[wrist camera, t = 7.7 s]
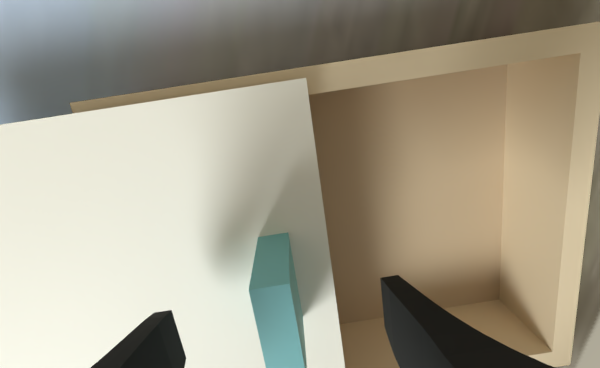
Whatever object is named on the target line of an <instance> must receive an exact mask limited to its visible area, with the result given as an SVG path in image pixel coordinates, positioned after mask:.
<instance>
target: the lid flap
mask: <svg viewBox="0 0 600 368" xmlns="http://www.w3.org/2000/svg"><path fill="white" fill-rule="evenodd" d="M168 310H172V313H173V316H174V320H175V323H176V326H177V330H178V333H179V336H180V339H181V343H182V346H183V349H184V352H185V356H186V362H185V367H184V368H345V362H344V355H343V348H342V340H341V333H340V325H339V318H338V311H337V303H336V296H335V288H334V281H333V273H332V266H331V259H330V251H329V244H328V236H327V229H326V222H325V214H324V207H323V199H322V192H321V184H320V177H319V170H318V162H317V155H316V147H315V140H314V133H313V125H312V118H311V110H310V103H309V96H308V88H307V81H306V78H301V79H295V80H288V81H282V82H275V83H269V84H262V85H255V86H249V87H242V88H236V89H229V90H223V91H216V92H210V93H203V94H197V95H190V96H184V97H177V98H171V99H164V100H158V101H151V102H145V103H138V104H132V105H125V106H119V107H112V108H106V109H99V110H93V111H86V112H80V113H73V114H67V115H60V116H54V117H47V118H41V119H34V120H28V121H21V122H15V123H8V124H2V125H0V368H91V367H92V366H93V365H94V364H95V363H96V362H98V361H99V360H100V359H101V358H102V357H104V356H105V355H106V354H107V353H108V352H109V351H110V350H111V349H113V348H114V347H115V346H116V345H117V344H118V343H119V342H120V341H122V340H123V339H124V338H125V337H126V336H127V335H128V334H129V333H130V332H132V331H133V330H134V329H135V328H136V327H137V326H138V325H140V324H141V323H142V322H143V321H144V320H145V319H147V318H148V317H149V316H150V315H152V314H153V313H155V312H162V311H168Z"/></svg>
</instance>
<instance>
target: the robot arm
mask: <svg viewBox="0 0 600 368" xmlns="http://www.w3.org/2000/svg"><path fill="white" fill-rule="evenodd" d="M380 280H381V291H382V303H383V314H384V326H385V330H386V333H387V336H388V339H389V342H390V345H391V348H392V351H393V354H394V356H395V359H396V361H397V363H398V365H399V367H400V368H555V367H552V366H550V365H547V364H545V363H543V362H540V361H538V360H536V359H534V358H532V357H529V356H527V355H525V354H523V353H520V352H518V351H516V350H514V349H512V348H510V347H508V346H506V345H504V344H502V343H500V342H498V341H496V340H495V339H493V338H491V337H489V336H487V335H485V334H483V333H482V332H480V331H478V330H476V329H475V328H473V327H471V326H470V325H468V324H466V323H465V322H463V321H462V320H460V319H458V318H457V317H455V316H454V315H452V314H451V313H449V312H448V311H446V310H445V309H443V308H442V307H440V306H439V305H437V304H436V303H435V302H433V301H432V300H430V299H429V298H428V297H426V296H425V295H424V294H422V293H421V292H420V291H418V290H417V289H416V288H414V287H413V286H412V285H411V284H409V283H408V282H407V281H405V280H404V279H403V278H401V277H400V276H399V275H395V276H388V277H382V278H380ZM185 362H186V356H185V352H184V349H183V346H182V343H181V339H180V336H179V333H178V330H177V326H176V323H175V320H174V316H173V313H172V310H168V311H162V312H155V313H153V314H152V315H150V316H149V317H148V318H147V319H145V320H144V321H143V322H142V323H141V324H140V325H138V326H137V327H136V328H135V329H134V330H133V331H132V332H130V333H129V334H128V335H127V336H126V337H125V338H124V339H123V340H122V341H120V342H119V343H118V344H117V345H116V346H115V347H114V348H113V349H111V350H110V351H109V352H108V353H107V354H106V355H105V356H104V357H102V358H101V359H100V360H99V361H98V362H96V363H95V364H94V365H93V366H92V367H91V368H184V367H185Z"/></svg>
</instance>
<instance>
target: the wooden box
mask: <svg viewBox="0 0 600 368" xmlns="http://www.w3.org/2000/svg"><path fill="white" fill-rule="evenodd" d="M301 78H306V81H307V88H308V96H309V103H310V110H311V118H312V125H313V133H314V140H315V147H316V155H317V162H318V170H319V177H320V184H321V192H322V199H323V207H324V214H325V222H326V229H327V236H328V244H329V251H330V259H331V266H332V273H333V281H334V288H335V296H336V303H337V311H338V318H339V325H340V333H341V340H342V348H343V355H344V362H345V368H400V367H399V365H398V363H397V361H396V359H395V356H394V354H393V351H392V348H391V345H390V342H389V339H388V336H387V333H386V330H385V326H384V314H383V303H382V291H381V280H380V278H382V277H388V276H395V275H399V276H400V277H401V278H403V279H404V280H405V281H407V282H408V283H409V284H411V285H412V286H413V287H414V288H416V289H417V290H418V291H420V292H421V293H422V294H424V295H425V296H426V297H428V298H429V299H430V300H432V301H433V302H435V303H436V304H437V305H439V306H440V307H442V308H443V309H445V310H446V311H448V312H449V313H451V314H452V315H454V316H455V317H457V318H458V319H460V320H462V321H463V322H465V323H466V324H468V325H470V326H471V327H473V328H475V329H476V330H478V331H480V332H482V333H483V334H485V335H487V336H489V337H491V338H493V339H495V340H496V341H498V342H500V343H502V344H504V345H506V346H508V347H510V348H512V349H514V350H516V351H518V352H520V353H523V354H525V355H527V356H529V357H532V358H534V359H536V360H538V361H540V362H543V363H545V364H547V365H550V366H552V367H559V366H565V365H571V356H572V347H573V339H574V330H575V321H576V313H577V304H578V295H579V287H580V278H581V269H582V261H583V252H584V244H585V235H586V226H587V218H588V209H589V200H590V192H591V183H592V174H593V166H594V157H595V148H596V140H597V131H598V122H599V114H600V21H599V22H593V23H586V24H580V25H573V26H567V27H560V28H554V29H547V30H541V31H534V32H528V33H521V34H515V35H508V36H502V37H495V38H489V39H482V40H476V41H469V42H463V43H456V44H450V45H443V46H437V47H430V48H424V49H417V50H411V51H404V52H398V53H391V54H385V55H378V56H372V57H365V58H359V59H352V60H345V61H339V62H332V63H326V64H319V65H313V66H306V67H300V68H293V69H287V70H280V71H274V72H267V73H261V74H254V75H248V76H241V77H235V78H228V79H222V80H215V81H209V82H202V83H196V84H189V85H183V86H176V87H170V88H163V89H157V90H150V91H144V92H137V93H131V94H124V95H118V96H111V97H105V98H98V99H92V100H85V101H79V102H72V103H70V106H71V109H72V112H73V113H80V112H86V111H93V110H99V109H106V108H112V107H119V106H125V105H132V104H138V103H145V102H151V101H158V100H164V99H171V98H177V97H184V96H190V95H197V94H203V93H210V92H216V91H223V90H229V89H236V88H242V87H249V86H255V85H262V84H269V83H275V82H282V81H288V80H295V79H301Z"/></svg>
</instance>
